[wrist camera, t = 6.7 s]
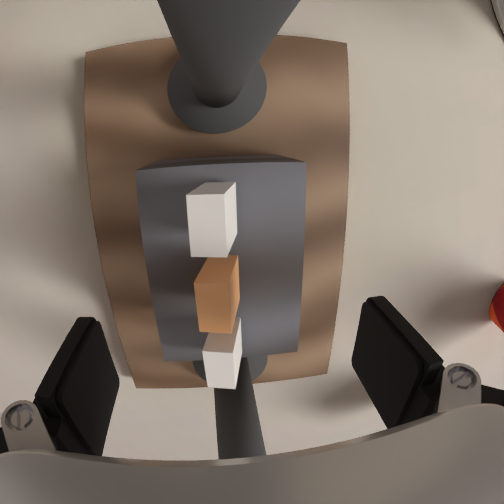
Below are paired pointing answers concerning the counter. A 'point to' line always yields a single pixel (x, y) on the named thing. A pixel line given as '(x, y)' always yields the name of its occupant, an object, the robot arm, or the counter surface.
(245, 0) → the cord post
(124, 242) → the breaker panel
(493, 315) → the coffee cup
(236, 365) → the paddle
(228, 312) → the paddle middle
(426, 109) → the counter surface
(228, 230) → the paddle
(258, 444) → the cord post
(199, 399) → the counter surface
